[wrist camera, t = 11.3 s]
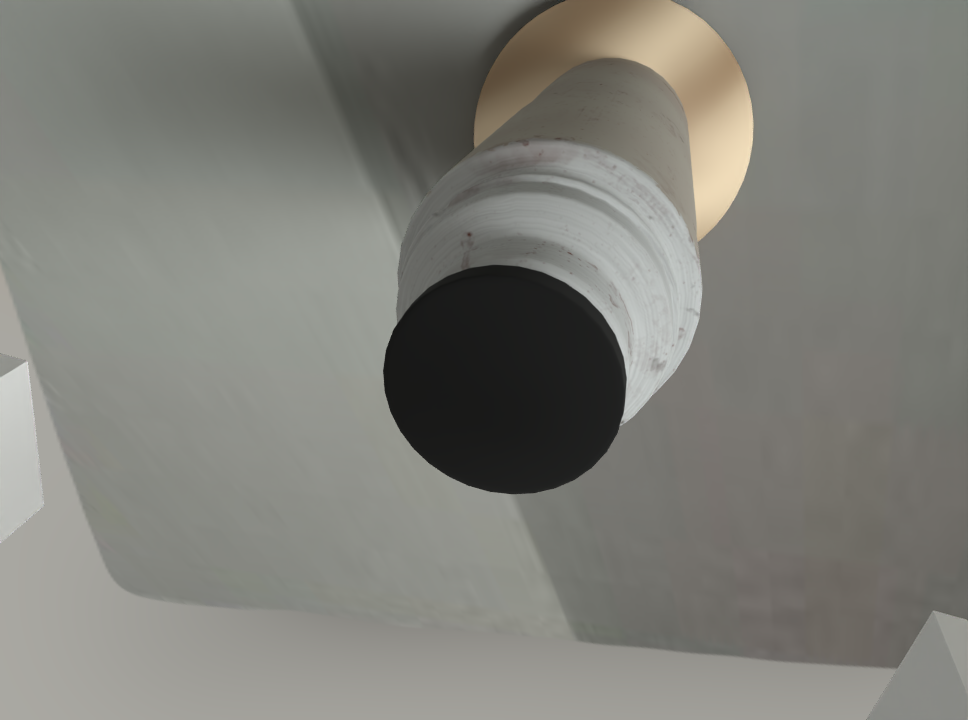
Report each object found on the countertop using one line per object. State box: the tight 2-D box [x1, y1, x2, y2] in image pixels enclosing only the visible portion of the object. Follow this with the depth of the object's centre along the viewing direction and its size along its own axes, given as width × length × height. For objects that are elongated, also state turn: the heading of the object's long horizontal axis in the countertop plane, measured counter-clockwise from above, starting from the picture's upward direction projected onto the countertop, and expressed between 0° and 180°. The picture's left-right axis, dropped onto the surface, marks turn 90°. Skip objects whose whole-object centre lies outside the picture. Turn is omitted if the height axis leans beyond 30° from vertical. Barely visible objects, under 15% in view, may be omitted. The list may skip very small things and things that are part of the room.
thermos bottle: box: [383, 58, 702, 494], centre depth 28 cm, size 8×8×28 cm
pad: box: [474, 0, 753, 241], centre depth 41 cm, size 14×14×1 cm
